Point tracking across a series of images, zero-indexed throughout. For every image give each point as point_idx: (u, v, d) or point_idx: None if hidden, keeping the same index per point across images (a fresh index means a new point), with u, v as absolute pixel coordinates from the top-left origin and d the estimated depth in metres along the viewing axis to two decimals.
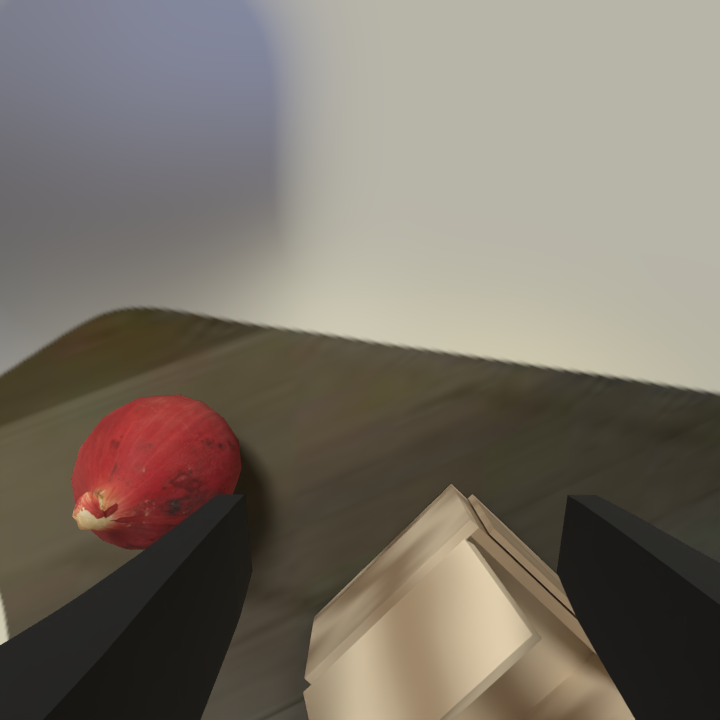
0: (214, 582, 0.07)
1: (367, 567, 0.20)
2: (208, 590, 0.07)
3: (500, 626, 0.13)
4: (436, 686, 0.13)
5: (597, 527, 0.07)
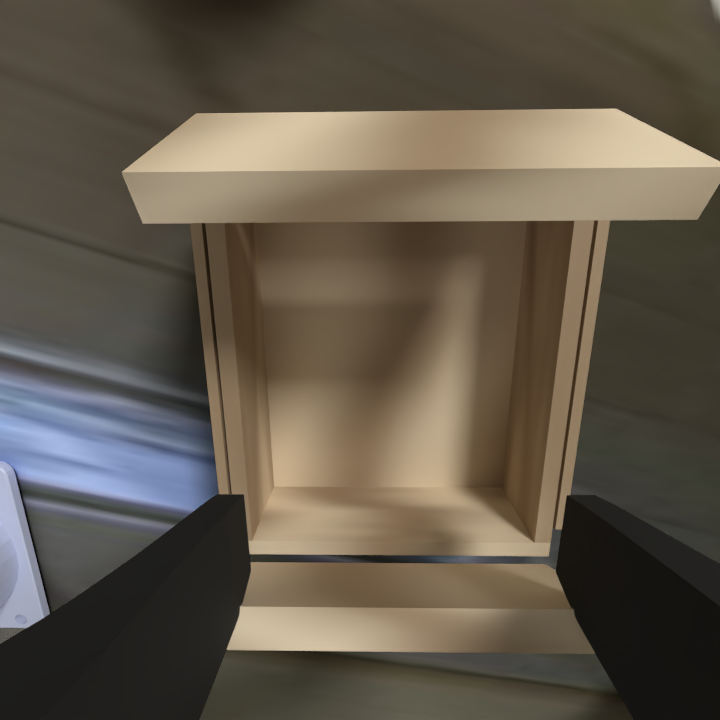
0: (213, 582, 0.07)
1: None
2: (207, 590, 0.07)
3: (654, 152, 0.06)
4: (471, 153, 0.06)
5: (596, 527, 0.07)
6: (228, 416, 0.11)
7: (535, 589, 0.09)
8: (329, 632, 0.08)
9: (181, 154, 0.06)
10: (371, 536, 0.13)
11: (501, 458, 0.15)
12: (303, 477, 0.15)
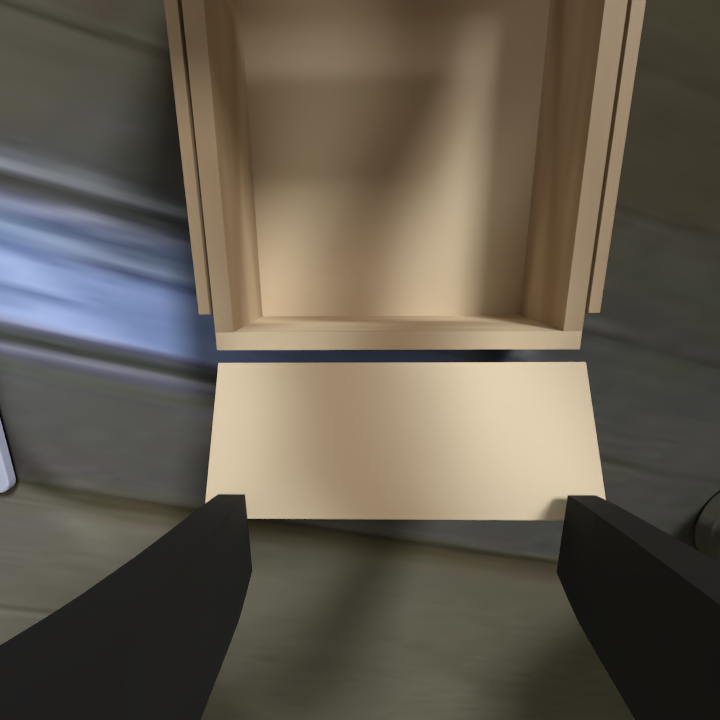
0: (214, 582, 0.07)
1: None
2: (208, 589, 0.07)
3: None
4: None
5: (597, 527, 0.07)
6: (203, 163, 0.10)
7: (544, 461, 0.09)
8: None
9: None
10: (372, 330, 0.11)
11: (520, 277, 0.13)
12: (295, 304, 0.14)
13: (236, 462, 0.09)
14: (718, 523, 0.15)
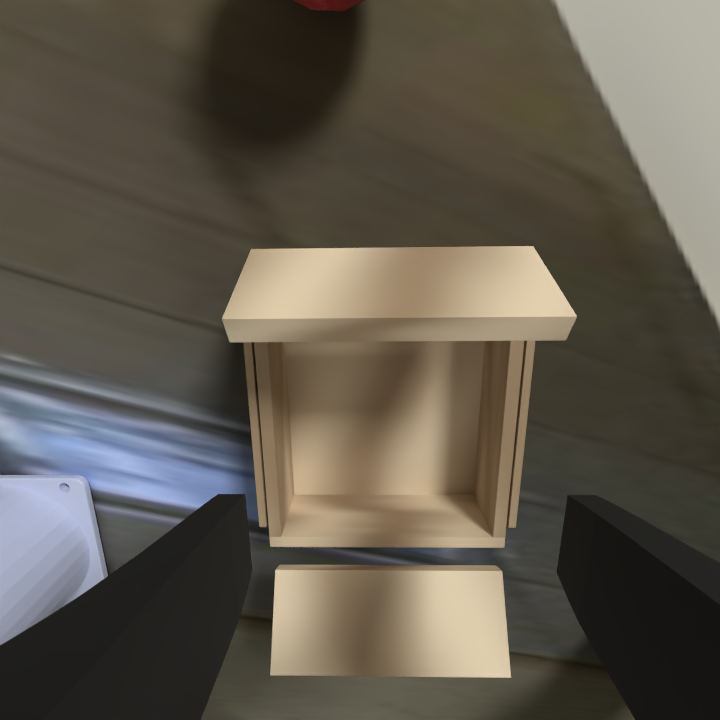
0: (214, 582, 0.07)
1: None
2: (208, 589, 0.07)
3: (539, 300, 0.10)
4: (428, 301, 0.10)
5: (597, 527, 0.07)
6: (265, 445, 0.16)
7: (474, 638, 0.15)
8: None
9: (252, 300, 0.11)
10: (370, 533, 0.17)
11: (473, 471, 0.19)
12: (317, 487, 0.19)
13: (288, 638, 0.15)
14: None
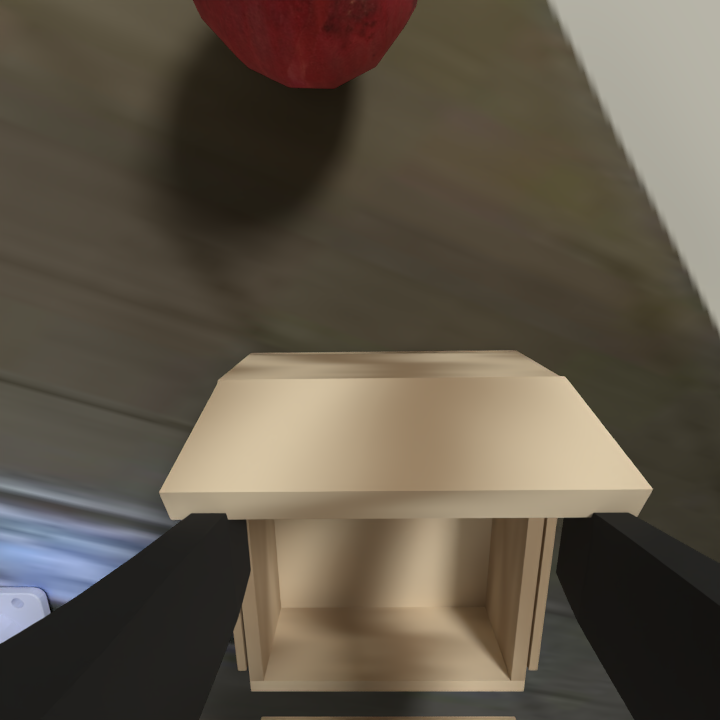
0: (213, 582, 0.07)
1: (355, 353, 0.15)
2: (206, 590, 0.07)
3: (593, 459, 0.08)
4: (444, 461, 0.08)
5: (596, 527, 0.07)
6: None
7: None
8: None
9: (207, 459, 0.08)
10: (368, 673, 0.14)
11: (484, 582, 0.17)
12: (307, 600, 0.17)
13: None
14: None
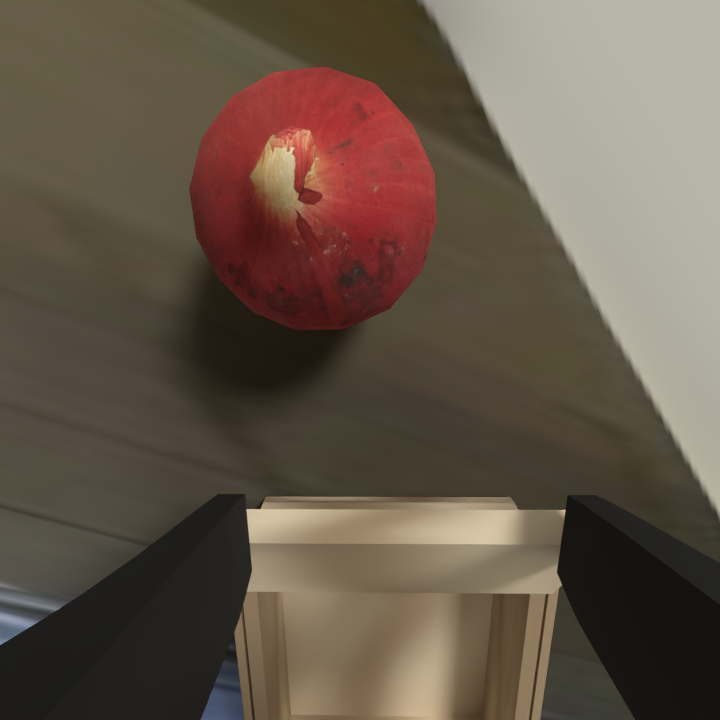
0: (214, 582, 0.07)
1: (362, 499, 0.16)
2: (208, 589, 0.07)
3: None
4: None
5: (597, 527, 0.07)
6: None
7: None
8: None
9: None
10: None
11: (481, 696, 0.18)
12: (315, 708, 0.18)
13: None
14: None
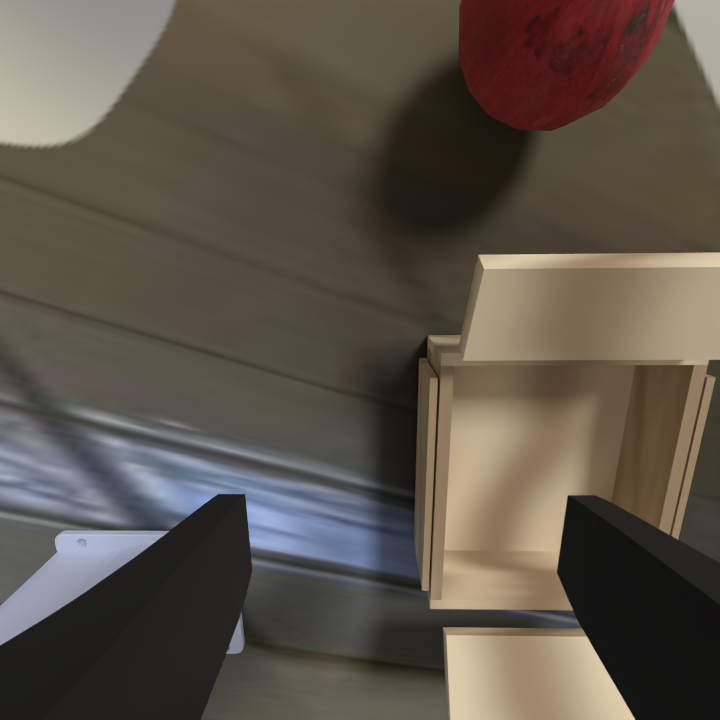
0: (214, 582, 0.07)
1: None
2: (208, 590, 0.07)
3: None
4: None
5: (597, 527, 0.07)
6: (436, 517, 0.17)
7: None
8: None
9: None
10: (524, 596, 0.18)
11: None
12: (453, 543, 0.20)
13: (465, 701, 0.16)
14: None
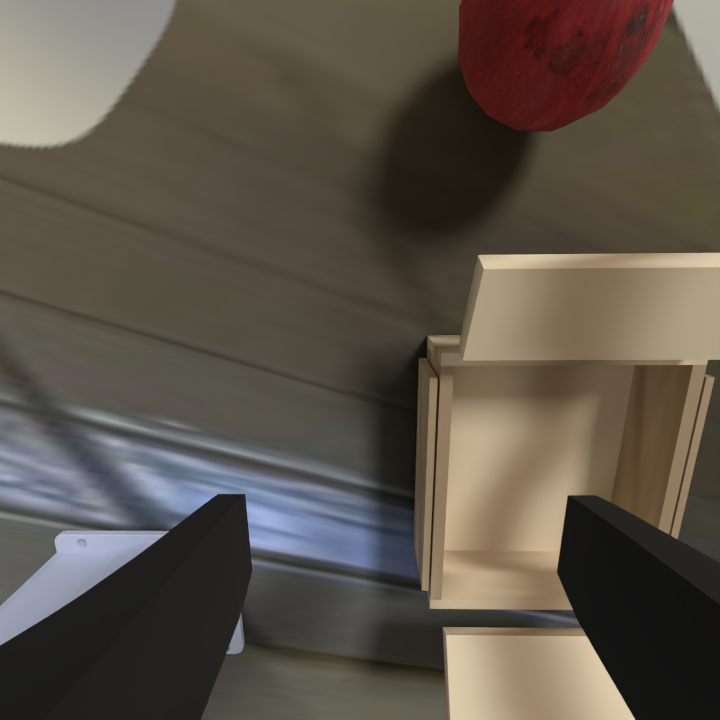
0: (214, 582, 0.07)
1: None
2: (208, 590, 0.07)
3: None
4: None
5: (597, 527, 0.07)
6: (436, 517, 0.17)
7: None
8: None
9: None
10: (524, 595, 0.18)
11: None
12: (453, 543, 0.20)
13: (465, 701, 0.16)
14: None
